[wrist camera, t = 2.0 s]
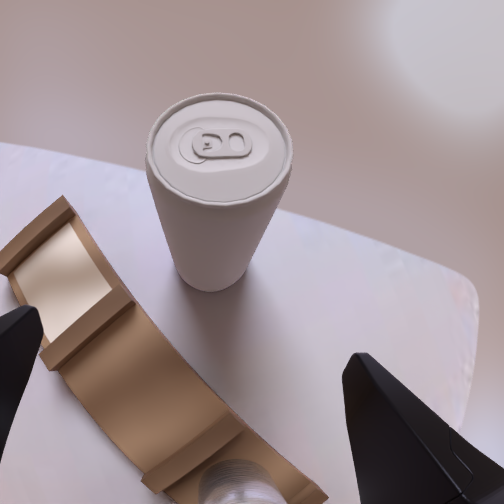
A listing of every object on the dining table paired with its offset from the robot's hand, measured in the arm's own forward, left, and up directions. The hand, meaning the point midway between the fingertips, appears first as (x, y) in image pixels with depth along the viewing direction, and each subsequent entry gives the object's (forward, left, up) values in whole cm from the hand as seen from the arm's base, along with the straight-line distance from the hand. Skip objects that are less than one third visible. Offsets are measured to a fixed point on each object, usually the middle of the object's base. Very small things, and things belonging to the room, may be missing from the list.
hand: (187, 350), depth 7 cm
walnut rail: (-5, 0, -11) cm, 12 cm away
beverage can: (+5, +4, -11) cm, 13 cm away
